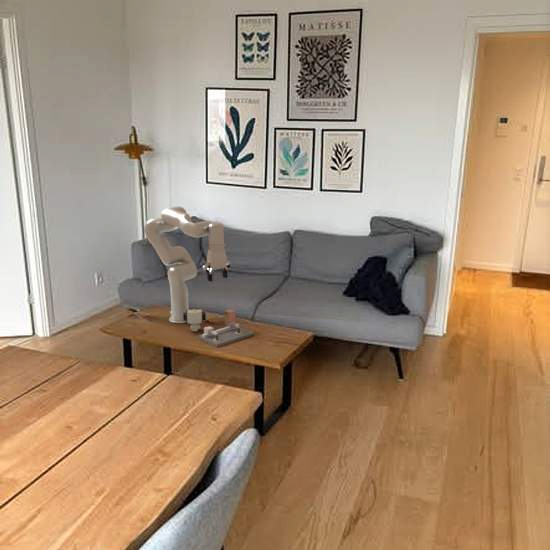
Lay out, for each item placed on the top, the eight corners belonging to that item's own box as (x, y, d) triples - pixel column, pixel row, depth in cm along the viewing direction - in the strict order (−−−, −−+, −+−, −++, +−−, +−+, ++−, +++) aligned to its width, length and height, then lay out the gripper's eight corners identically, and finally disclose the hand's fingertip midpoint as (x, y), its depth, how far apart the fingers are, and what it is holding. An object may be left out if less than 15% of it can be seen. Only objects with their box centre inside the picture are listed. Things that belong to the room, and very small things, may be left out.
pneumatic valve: (206, 331, 288) (205, 310, 285) (184, 332, 288) (182, 310, 285) (206, 327, 294) (205, 306, 291) (184, 328, 293) (183, 307, 290)
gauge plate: (198, 338, 279) (197, 327, 277) (234, 327, 295) (234, 316, 293) (216, 347, 268) (216, 336, 266) (253, 335, 283) (253, 324, 282)
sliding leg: (225, 328, 288) (224, 310, 285) (231, 326, 290) (230, 309, 288) (236, 333, 281) (235, 315, 278) (242, 331, 283) (241, 313, 281)
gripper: (225, 243, 287) (226, 274, 291) (198, 248, 275) (199, 280, 280) (234, 245, 281) (235, 277, 286) (207, 250, 270) (208, 283, 275)
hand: (217, 279), depth 283 cm, fingers open, 9 cm apart
